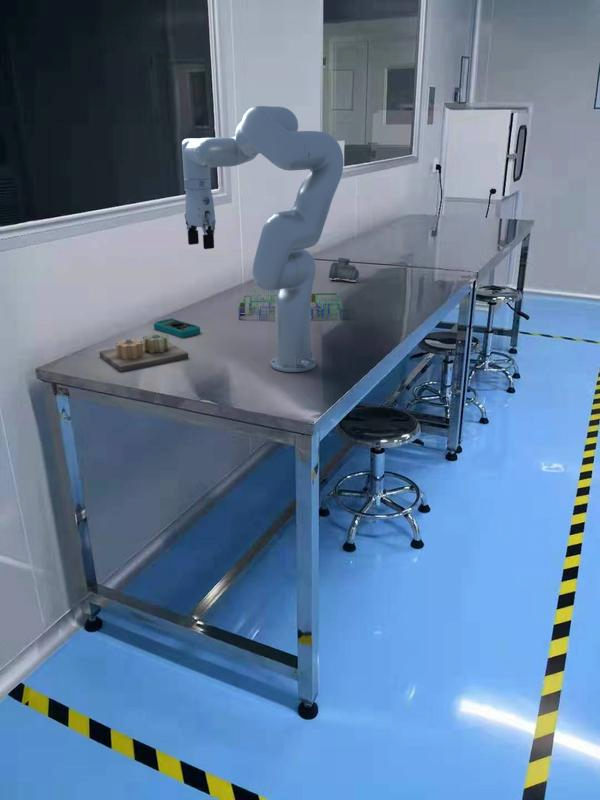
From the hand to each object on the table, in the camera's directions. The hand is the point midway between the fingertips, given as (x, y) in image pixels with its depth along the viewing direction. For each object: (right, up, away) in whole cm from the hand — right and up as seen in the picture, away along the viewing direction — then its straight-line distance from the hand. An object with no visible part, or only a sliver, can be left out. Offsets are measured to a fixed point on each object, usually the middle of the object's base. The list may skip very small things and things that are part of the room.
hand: (201, 246), depth 190 cm
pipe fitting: (+48, +6, +89) cm, 101 cm away
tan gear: (-19, -33, -9) cm, 39 cm away
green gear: (-12, -31, -5) cm, 33 cm away
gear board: (-15, -33, -6) cm, 37 cm away
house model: (+25, -13, +45) cm, 53 cm away
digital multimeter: (-11, -24, +19) cm, 32 cm away
